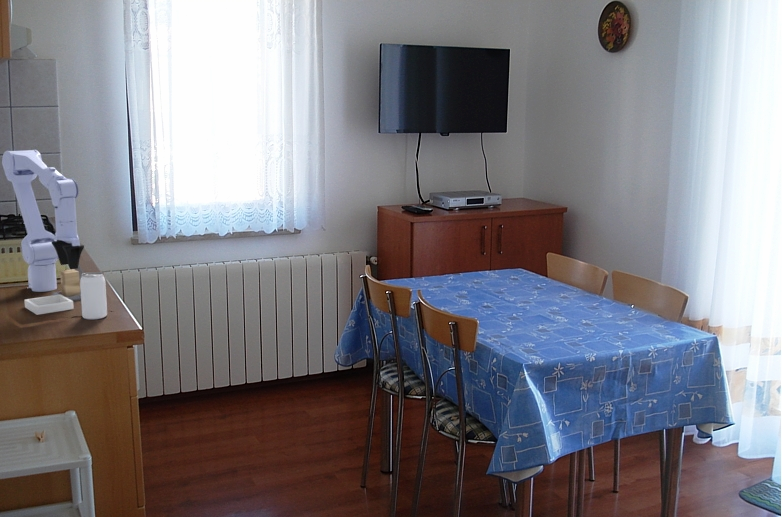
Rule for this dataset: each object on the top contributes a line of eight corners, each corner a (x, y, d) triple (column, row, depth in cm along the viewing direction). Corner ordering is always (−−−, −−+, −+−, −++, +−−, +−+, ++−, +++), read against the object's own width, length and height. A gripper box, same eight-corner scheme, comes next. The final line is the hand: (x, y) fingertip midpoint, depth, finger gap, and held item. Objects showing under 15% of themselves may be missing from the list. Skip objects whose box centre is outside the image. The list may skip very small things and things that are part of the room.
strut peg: (62, 297, 237) (60, 271, 235) (75, 295, 239) (73, 269, 238) (66, 299, 234) (64, 273, 232) (80, 297, 237) (78, 271, 235)
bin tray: (25, 309, 226) (24, 299, 225) (61, 304, 232) (60, 294, 231) (36, 317, 218) (36, 306, 218) (73, 311, 225) (73, 301, 224)
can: (99, 320, 216) (96, 277, 214) (77, 319, 217) (74, 276, 215) (111, 314, 222) (109, 272, 220) (90, 313, 223) (88, 271, 221)
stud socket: (50, 299, 237) (50, 292, 237) (81, 294, 243) (80, 287, 243) (61, 305, 231) (60, 298, 230) (92, 300, 236) (91, 293, 236)
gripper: (43, 219, 235) (46, 264, 238) (60, 225, 224) (64, 272, 227) (67, 217, 239) (70, 261, 242) (85, 223, 229) (88, 269, 231)
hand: (69, 266), depth 235 cm, fingers open, 7 cm apart
